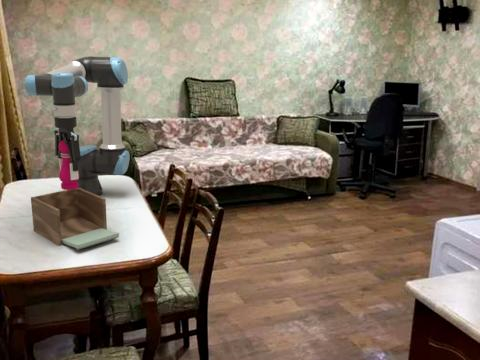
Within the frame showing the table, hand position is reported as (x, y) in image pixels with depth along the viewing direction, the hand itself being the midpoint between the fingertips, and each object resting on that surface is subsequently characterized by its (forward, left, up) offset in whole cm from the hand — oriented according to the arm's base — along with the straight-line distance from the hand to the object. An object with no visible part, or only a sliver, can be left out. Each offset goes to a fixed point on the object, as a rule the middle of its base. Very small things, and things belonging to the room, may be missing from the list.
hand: (69, 177), depth 183 cm
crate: (0, -2, -22) cm, 22 cm away
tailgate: (0, +7, -21) cm, 22 cm away
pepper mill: (0, 0, -4) cm, 4 cm away
